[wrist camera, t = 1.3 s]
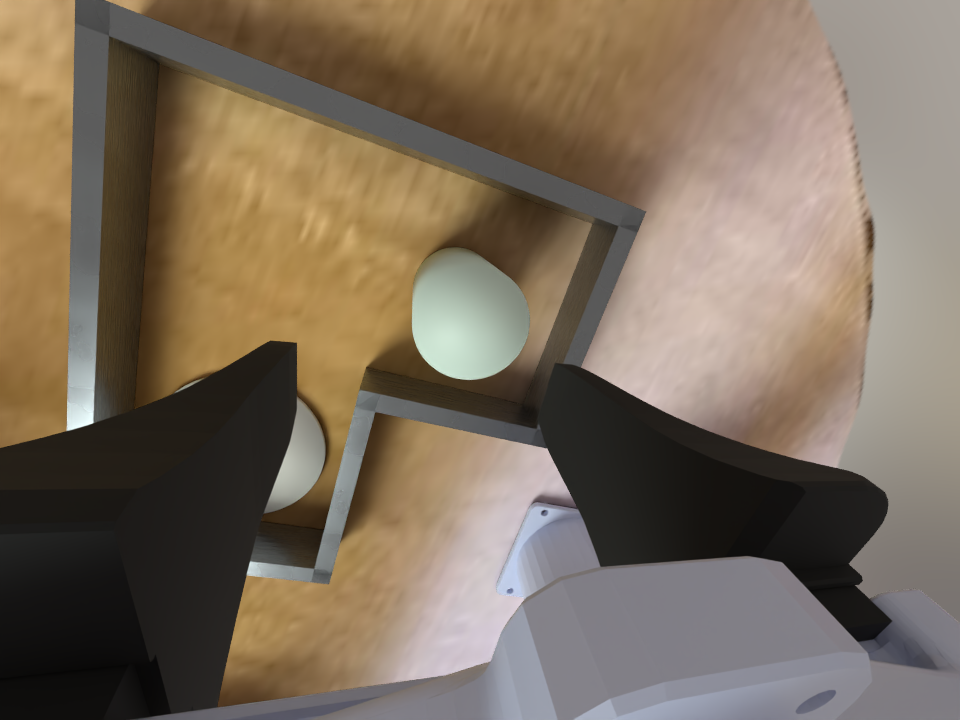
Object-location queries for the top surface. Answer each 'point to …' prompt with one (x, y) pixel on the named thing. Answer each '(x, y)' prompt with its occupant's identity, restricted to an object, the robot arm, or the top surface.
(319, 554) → the grey notched frame
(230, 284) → the top surface
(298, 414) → the end pad
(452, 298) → the peg
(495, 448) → the top surface
